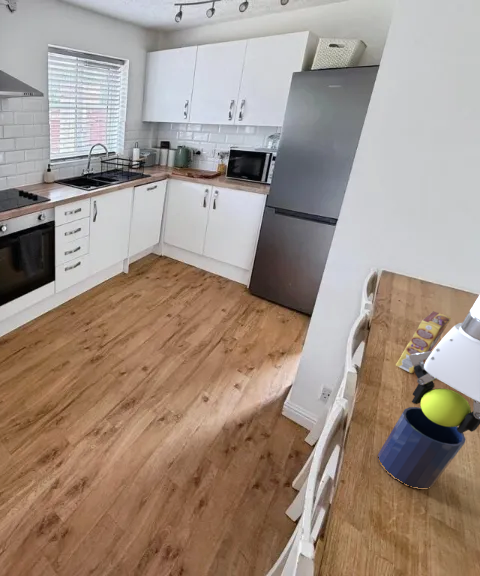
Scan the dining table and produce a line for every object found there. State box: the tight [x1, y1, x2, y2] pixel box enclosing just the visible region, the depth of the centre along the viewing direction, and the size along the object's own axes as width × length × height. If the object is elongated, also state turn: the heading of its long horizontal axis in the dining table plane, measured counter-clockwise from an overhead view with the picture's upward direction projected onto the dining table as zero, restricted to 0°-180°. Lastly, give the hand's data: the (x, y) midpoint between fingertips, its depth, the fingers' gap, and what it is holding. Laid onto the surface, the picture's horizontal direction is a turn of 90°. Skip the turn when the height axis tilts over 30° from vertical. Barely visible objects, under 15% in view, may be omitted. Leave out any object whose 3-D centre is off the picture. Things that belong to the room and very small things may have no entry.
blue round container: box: [377, 406, 466, 488], centre depth 69 cm, size 9×9×12 cm
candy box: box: [395, 311, 452, 374], centre depth 98 cm, size 9×4×15 cm, turn 125°
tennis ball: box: [420, 387, 472, 427], centre depth 64 cm, size 6×6×6 cm
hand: (440, 414), depth 65 cm, fingers closed on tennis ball, 6 cm apart
